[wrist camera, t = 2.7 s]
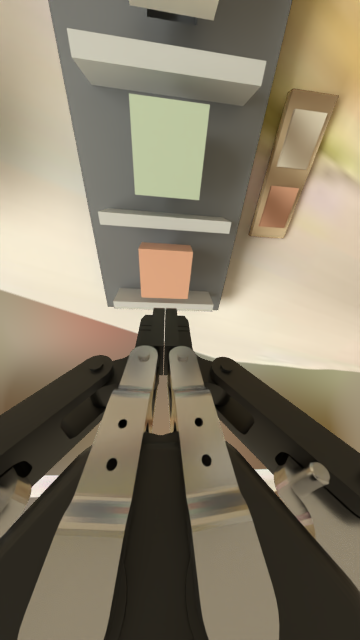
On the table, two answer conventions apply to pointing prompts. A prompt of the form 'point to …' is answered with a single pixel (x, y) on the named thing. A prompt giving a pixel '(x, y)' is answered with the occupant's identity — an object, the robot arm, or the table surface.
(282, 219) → the strip
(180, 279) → the orange cube
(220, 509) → the robot arm
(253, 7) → the grey shelf board
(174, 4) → the key ivory
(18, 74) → the table surface
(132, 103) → the key sage
